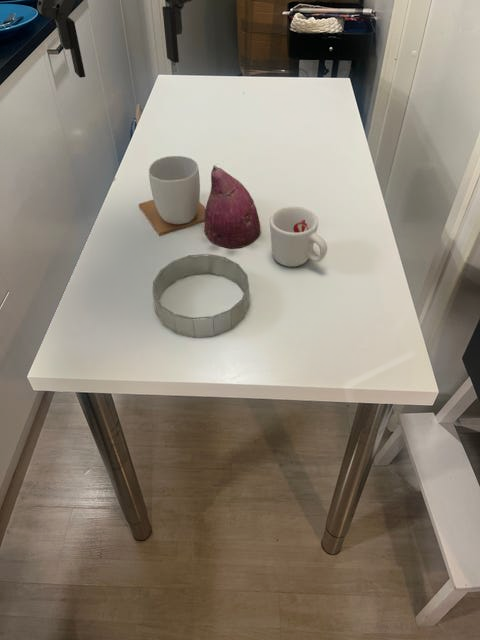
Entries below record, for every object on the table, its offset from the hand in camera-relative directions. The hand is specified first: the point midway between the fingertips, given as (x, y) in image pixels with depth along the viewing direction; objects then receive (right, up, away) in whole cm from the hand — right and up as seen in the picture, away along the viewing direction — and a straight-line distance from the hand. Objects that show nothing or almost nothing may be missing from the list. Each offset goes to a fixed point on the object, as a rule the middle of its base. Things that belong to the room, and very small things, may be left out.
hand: (128, 67), depth 70 cm
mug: (+4, -14, +27) cm, 31 cm away
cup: (+26, -25, +17) cm, 40 cm away
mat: (+3, -14, +27) cm, 31 cm away
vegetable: (+14, -19, +23) cm, 33 cm away
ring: (+10, -33, +10) cm, 36 cm away
